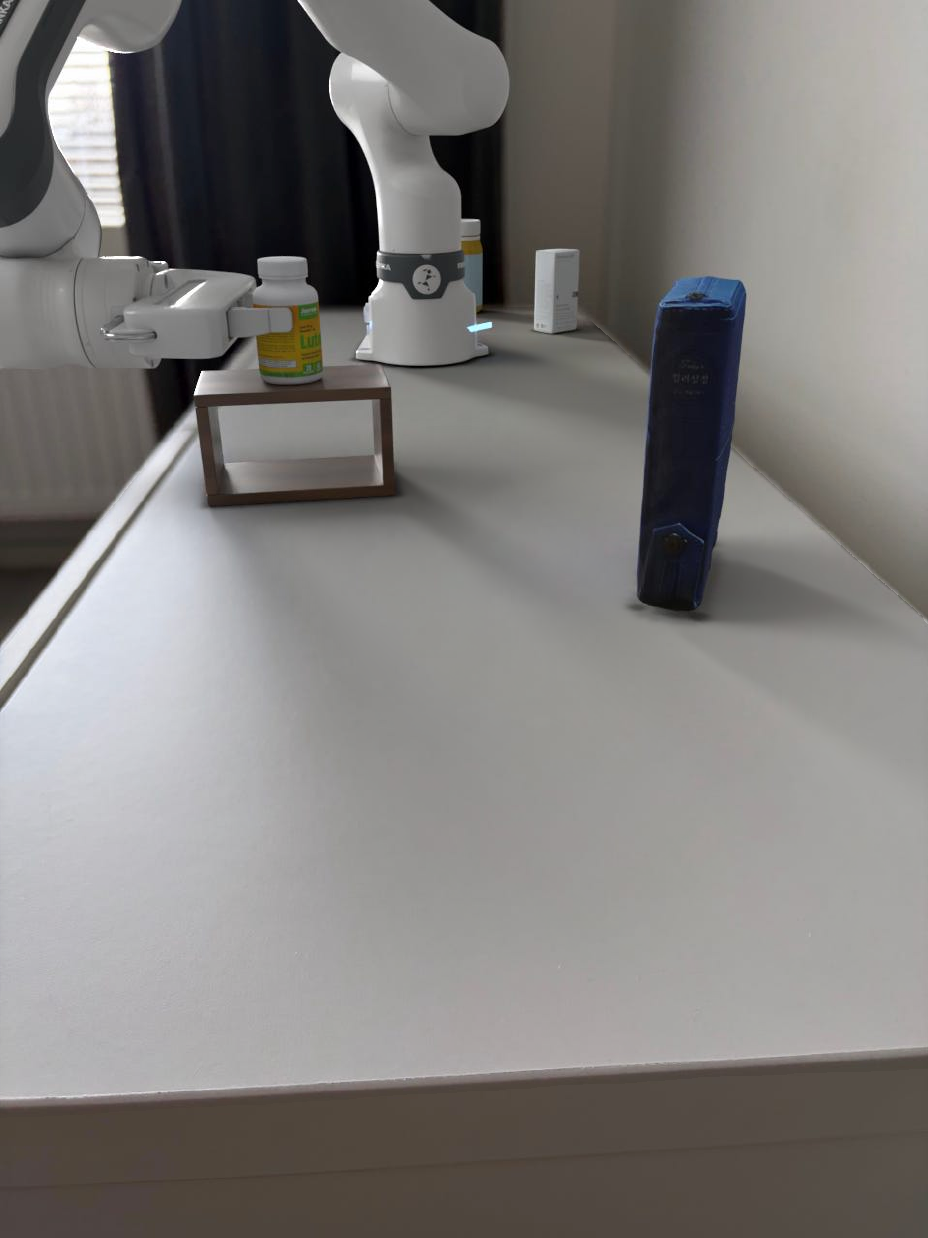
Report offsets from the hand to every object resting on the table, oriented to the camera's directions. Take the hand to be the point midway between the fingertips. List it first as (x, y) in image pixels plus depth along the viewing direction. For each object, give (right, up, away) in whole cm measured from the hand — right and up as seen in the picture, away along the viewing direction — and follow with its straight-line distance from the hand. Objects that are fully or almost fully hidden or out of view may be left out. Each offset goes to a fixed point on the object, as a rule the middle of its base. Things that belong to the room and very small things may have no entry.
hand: (297, 312), depth 80 cm
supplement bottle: (-1, -5, +2) cm, 6 cm away
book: (+29, -23, -11) cm, 39 cm away
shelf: (-1, -13, +7) cm, 15 cm away
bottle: (+14, +29, +91) cm, 96 cm away
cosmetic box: (+29, +21, +74) cm, 82 cm away
